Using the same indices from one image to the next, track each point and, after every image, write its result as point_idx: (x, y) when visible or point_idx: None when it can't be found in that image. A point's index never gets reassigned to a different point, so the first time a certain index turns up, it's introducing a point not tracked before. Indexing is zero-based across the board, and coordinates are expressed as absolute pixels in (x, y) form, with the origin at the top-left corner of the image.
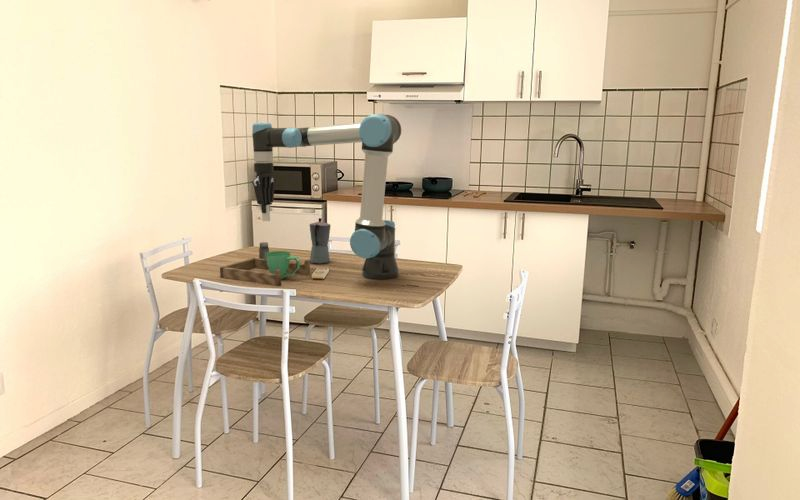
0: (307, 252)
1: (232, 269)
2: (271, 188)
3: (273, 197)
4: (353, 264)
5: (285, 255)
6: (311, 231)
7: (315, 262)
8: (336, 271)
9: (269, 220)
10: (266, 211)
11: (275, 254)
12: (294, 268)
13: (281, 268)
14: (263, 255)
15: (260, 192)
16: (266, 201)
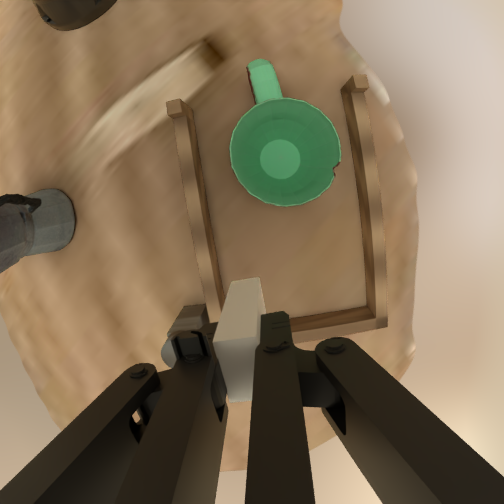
0: (19, 334)
1: (386, 276)
2: (65, 499)
3: (99, 396)
4: (24, 124)
5: (292, 98)
6: (3, 250)
7: (71, 209)
8: (105, 86)
9: (237, 281)
10: (259, 316)
11: (258, 195)
12: (196, 162)
13: (299, 122)
14: (199, 326)
15: (436, 429)
16: (259, 364)
